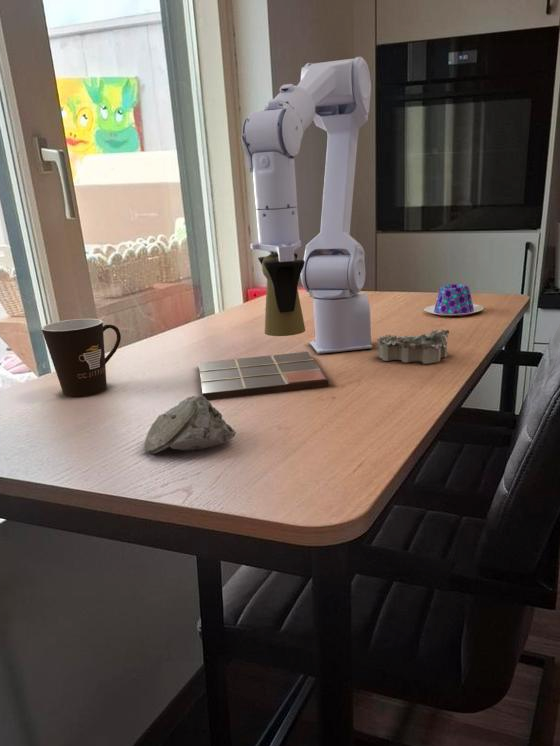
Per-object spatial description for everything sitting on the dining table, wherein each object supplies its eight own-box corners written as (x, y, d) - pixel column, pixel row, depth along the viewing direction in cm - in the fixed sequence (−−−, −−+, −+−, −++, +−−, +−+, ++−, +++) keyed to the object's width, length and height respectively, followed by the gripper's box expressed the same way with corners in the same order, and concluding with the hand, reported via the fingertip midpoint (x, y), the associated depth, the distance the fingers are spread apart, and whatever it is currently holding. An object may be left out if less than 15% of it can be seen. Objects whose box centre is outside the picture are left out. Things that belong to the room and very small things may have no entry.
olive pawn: (300, 336, 100) (295, 255, 95) (259, 336, 101) (252, 257, 97) (309, 327, 105) (304, 250, 101) (270, 327, 106) (264, 251, 102)
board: (307, 357, 117) (307, 350, 116) (328, 386, 101) (328, 379, 100) (199, 368, 114) (198, 361, 114) (203, 400, 98) (202, 392, 98)
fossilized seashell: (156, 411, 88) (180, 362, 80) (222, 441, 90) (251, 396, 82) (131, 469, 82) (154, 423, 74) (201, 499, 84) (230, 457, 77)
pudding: (440, 305, 152) (440, 280, 150) (492, 308, 145) (494, 282, 143) (413, 315, 143) (413, 289, 141) (468, 319, 137) (469, 292, 134)
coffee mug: (60, 403, 101) (45, 334, 97) (51, 389, 108) (37, 324, 104) (140, 388, 106) (129, 321, 101) (126, 376, 113) (115, 313, 108)
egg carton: (452, 354, 113) (453, 329, 112) (434, 366, 107) (435, 339, 106) (392, 349, 118) (392, 325, 117) (372, 360, 113) (371, 335, 111)
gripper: (243, 208, 102) (252, 302, 108) (252, 212, 89) (261, 319, 95) (291, 204, 103) (297, 298, 109) (307, 208, 90) (313, 315, 96)
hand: (284, 308), depth 102 cm, fingers closed on olive pawn, 5 cm apart
